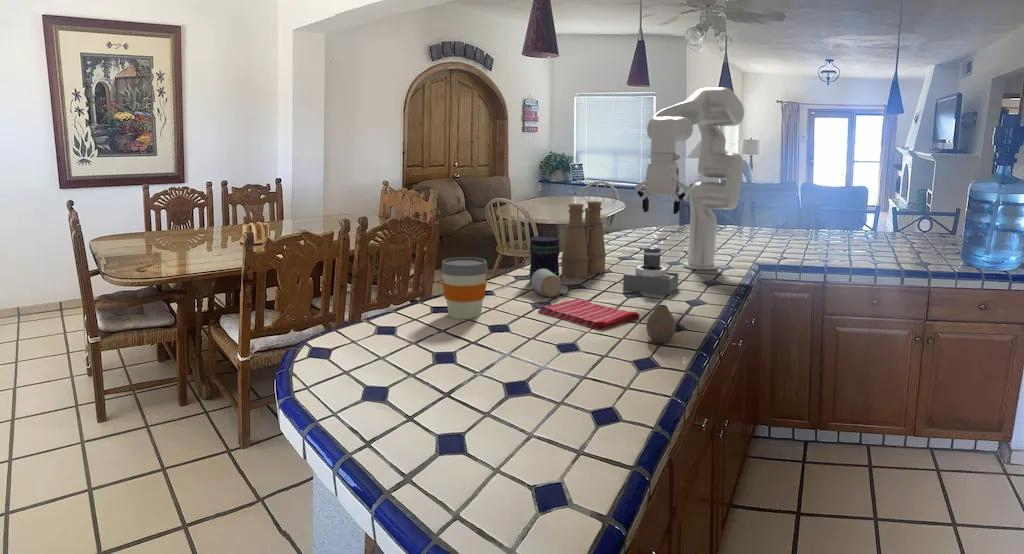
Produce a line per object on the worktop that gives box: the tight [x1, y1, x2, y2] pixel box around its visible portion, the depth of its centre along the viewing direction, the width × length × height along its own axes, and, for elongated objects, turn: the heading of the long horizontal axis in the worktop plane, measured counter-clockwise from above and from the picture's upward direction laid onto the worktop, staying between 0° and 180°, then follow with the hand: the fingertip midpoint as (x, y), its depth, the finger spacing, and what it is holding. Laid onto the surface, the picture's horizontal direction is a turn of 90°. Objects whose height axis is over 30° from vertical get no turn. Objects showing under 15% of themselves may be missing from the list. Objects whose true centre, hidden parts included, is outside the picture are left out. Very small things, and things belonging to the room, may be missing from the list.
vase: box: [646, 304, 677, 344], centre depth 164 cm, size 7×7×9 cm
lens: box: [643, 246, 662, 270], centre depth 216 cm, size 5×5×8 cm
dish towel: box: [537, 298, 641, 330], centre depth 186 cm, size 17×24×3 cm
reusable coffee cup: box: [440, 256, 488, 320], centre depth 185 cm, size 13×13×15 cm
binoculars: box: [560, 200, 608, 279], centre depth 238 cm, size 21×10×25 cm, turn 138°
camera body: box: [622, 264, 679, 296], centre depth 217 cm, size 10×15×7 cm, turn 62°
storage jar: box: [529, 235, 561, 284], centre depth 225 cm, size 10×10×15 cm
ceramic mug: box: [530, 269, 569, 298], centre depth 209 cm, size 11×8×8 cm
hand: (660, 212), depth 217 cm, fingers open, 9 cm apart
